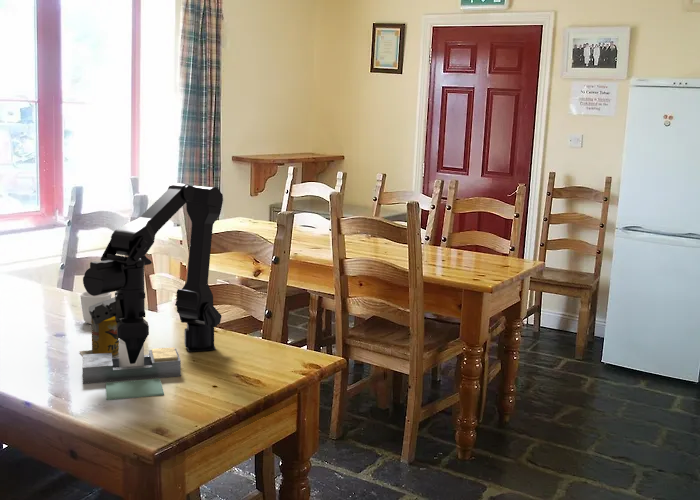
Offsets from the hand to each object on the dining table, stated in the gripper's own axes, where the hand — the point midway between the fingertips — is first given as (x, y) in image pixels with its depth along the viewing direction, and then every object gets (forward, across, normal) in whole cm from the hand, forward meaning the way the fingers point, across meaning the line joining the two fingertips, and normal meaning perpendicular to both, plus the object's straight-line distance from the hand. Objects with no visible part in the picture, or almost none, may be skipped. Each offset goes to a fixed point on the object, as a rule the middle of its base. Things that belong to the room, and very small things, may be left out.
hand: (131, 357), depth 158 cm
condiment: (+4, -15, -6) cm, 17 cm away
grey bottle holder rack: (+4, 0, 0) cm, 4 cm away
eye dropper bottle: (+4, 0, 0) cm, 4 cm away
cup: (+4, -43, -6) cm, 44 cm away
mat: (+4, +10, 0) cm, 11 cm away
